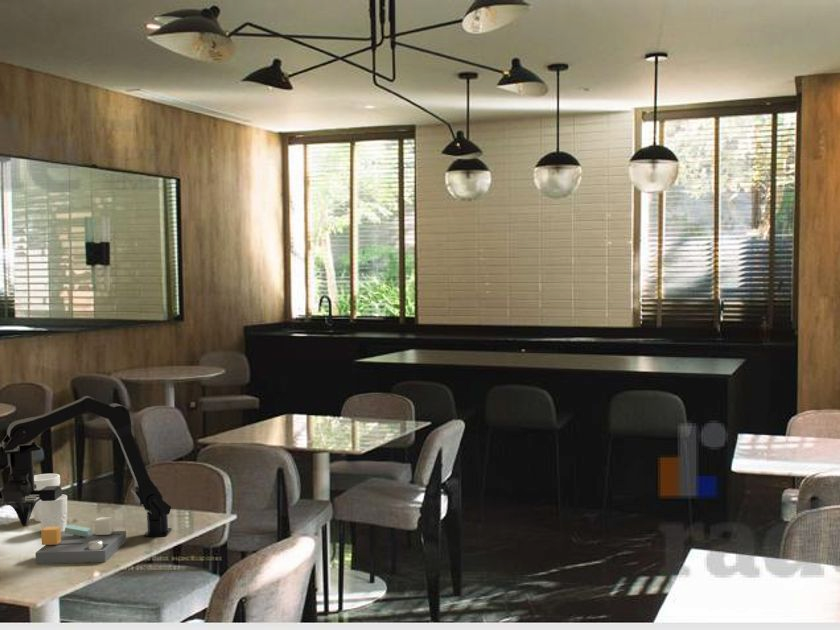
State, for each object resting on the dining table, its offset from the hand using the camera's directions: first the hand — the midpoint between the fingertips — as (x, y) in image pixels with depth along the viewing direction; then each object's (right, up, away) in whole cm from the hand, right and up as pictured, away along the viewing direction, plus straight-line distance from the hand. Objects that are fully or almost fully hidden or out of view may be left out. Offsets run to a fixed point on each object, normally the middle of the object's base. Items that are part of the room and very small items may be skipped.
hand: (24, 525), depth 246 cm
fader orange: (+7, -5, 0) cm, 8 cm away
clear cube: (+20, -8, -3) cm, 22 cm away
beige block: (+18, -4, +9) cm, 21 cm away
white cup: (-2, -7, +24) cm, 25 cm away
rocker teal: (+11, -3, +7) cm, 14 cm away
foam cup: (-10, -7, +38) cm, 40 cm away
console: (+15, -8, +3) cm, 17 cm away
